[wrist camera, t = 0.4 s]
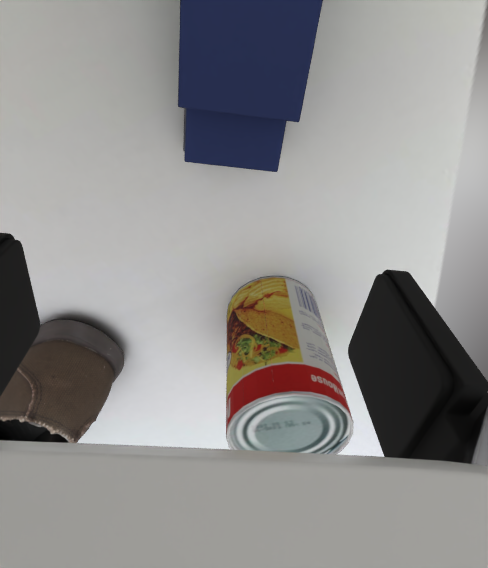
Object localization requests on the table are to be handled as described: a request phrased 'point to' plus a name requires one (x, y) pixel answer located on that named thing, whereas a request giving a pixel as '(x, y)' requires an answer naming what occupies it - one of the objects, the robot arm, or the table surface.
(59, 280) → the table surface
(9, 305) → the robot arm
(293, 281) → the canned food
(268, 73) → the blue stepped block
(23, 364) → the loafer
